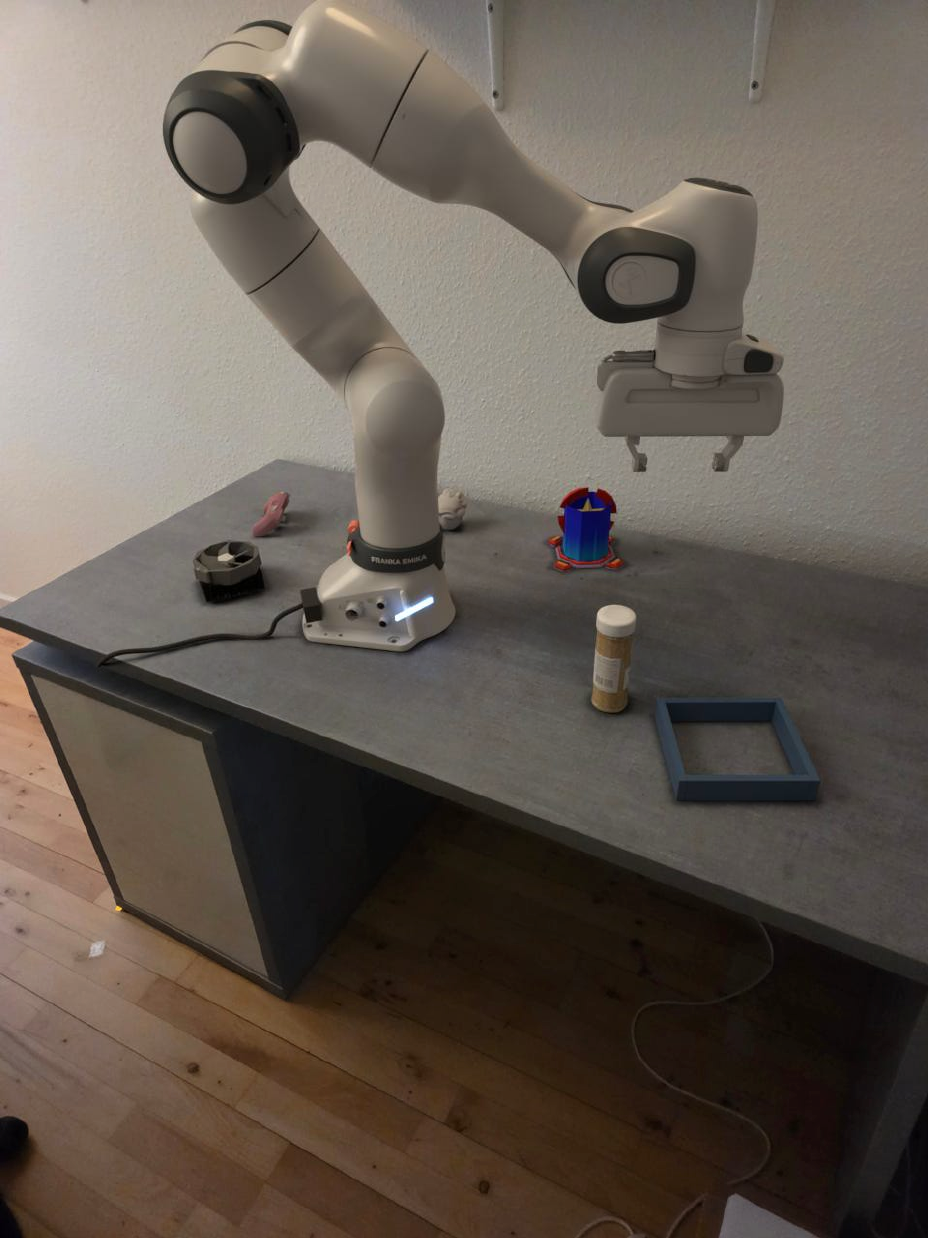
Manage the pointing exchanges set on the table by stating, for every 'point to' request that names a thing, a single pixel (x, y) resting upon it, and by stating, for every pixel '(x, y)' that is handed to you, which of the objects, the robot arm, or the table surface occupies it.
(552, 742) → the table surface
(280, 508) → the pink lumpy piece
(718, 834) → the table surface
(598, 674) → the sprinkles bottle
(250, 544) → the cpu cooler
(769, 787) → the square frame
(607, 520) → the fantasy tower
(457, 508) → the frog figurine
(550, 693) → the table surface
